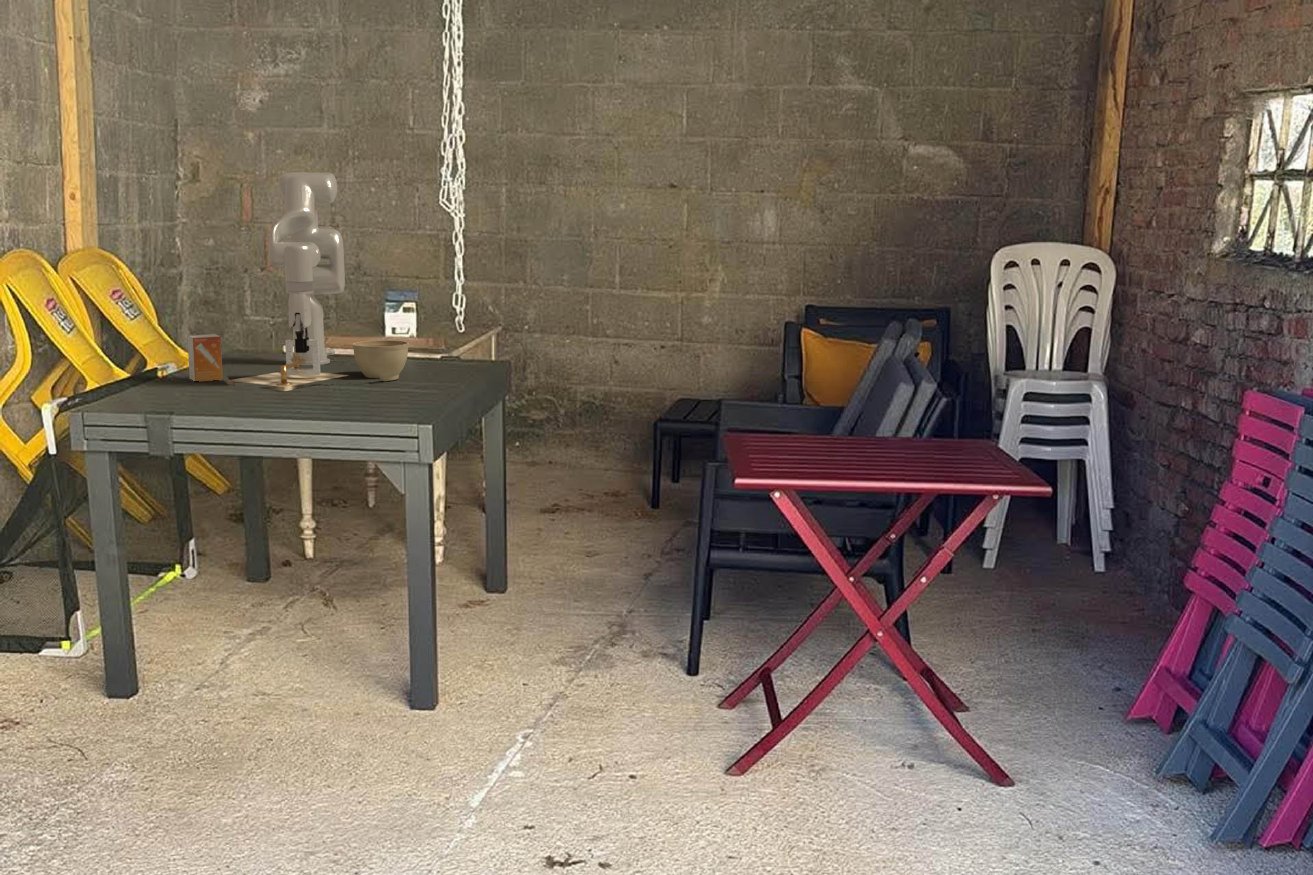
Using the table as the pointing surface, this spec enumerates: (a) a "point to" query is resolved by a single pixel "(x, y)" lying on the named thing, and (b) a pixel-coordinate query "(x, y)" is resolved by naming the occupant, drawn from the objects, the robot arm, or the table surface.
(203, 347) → the small box
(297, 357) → the brass faucet
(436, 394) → the table surface
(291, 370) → the white square frame
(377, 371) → the planter bowl
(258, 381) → the base board
